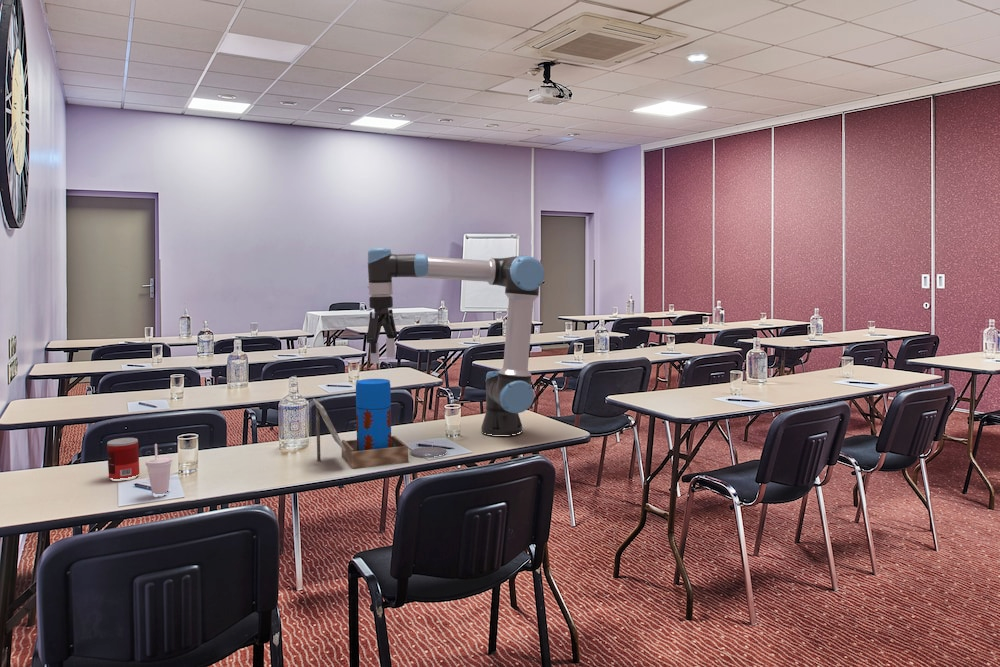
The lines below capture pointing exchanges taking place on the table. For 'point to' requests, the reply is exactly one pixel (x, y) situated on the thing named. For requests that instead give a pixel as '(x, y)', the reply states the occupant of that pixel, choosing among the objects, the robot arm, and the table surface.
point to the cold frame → (366, 457)
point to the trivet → (427, 452)
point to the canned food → (123, 458)
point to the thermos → (373, 414)
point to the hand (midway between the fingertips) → (383, 360)
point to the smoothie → (159, 473)
